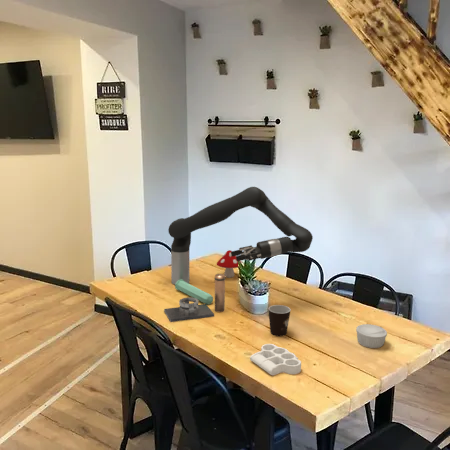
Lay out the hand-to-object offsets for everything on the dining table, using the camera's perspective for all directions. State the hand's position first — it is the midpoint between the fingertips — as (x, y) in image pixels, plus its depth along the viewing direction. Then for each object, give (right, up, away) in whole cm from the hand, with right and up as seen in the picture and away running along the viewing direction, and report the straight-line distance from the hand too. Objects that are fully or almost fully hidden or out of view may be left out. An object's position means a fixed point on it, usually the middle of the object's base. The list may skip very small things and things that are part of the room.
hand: (233, 256), depth 207 cm
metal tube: (-6, -24, +4) cm, 25 cm away
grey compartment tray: (+14, -35, -42) cm, 56 cm away
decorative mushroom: (-2, -15, +49) cm, 52 cm away
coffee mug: (+19, -29, -17) cm, 39 cm away
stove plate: (-19, -25, -1) cm, 32 cm away
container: (-18, -21, +20) cm, 34 cm away
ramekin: (+51, -32, -25) cm, 65 cm away
